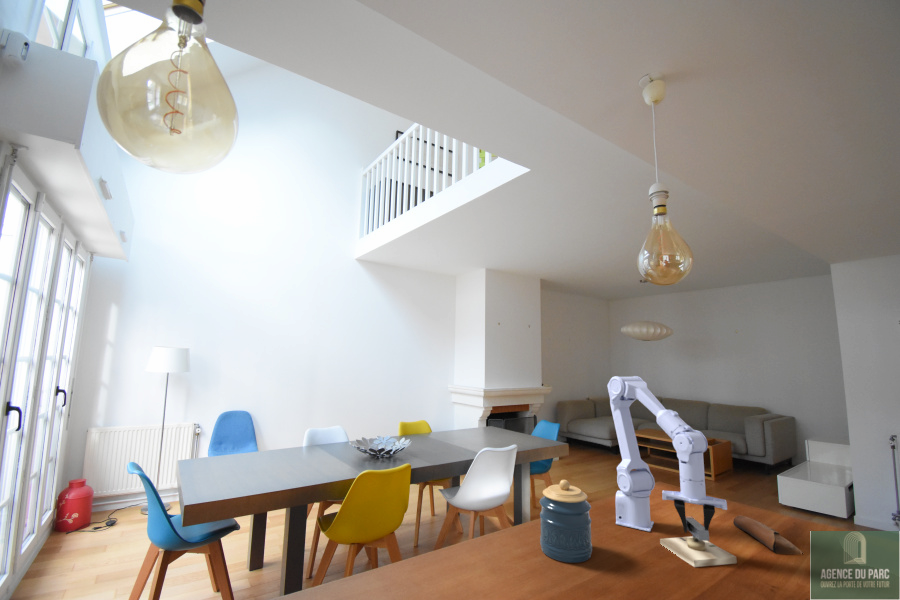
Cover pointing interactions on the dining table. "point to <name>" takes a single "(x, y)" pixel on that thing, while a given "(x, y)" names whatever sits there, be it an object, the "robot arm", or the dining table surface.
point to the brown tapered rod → (766, 535)
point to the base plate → (698, 551)
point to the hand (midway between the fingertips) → (695, 533)
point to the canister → (565, 523)
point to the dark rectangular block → (697, 529)
